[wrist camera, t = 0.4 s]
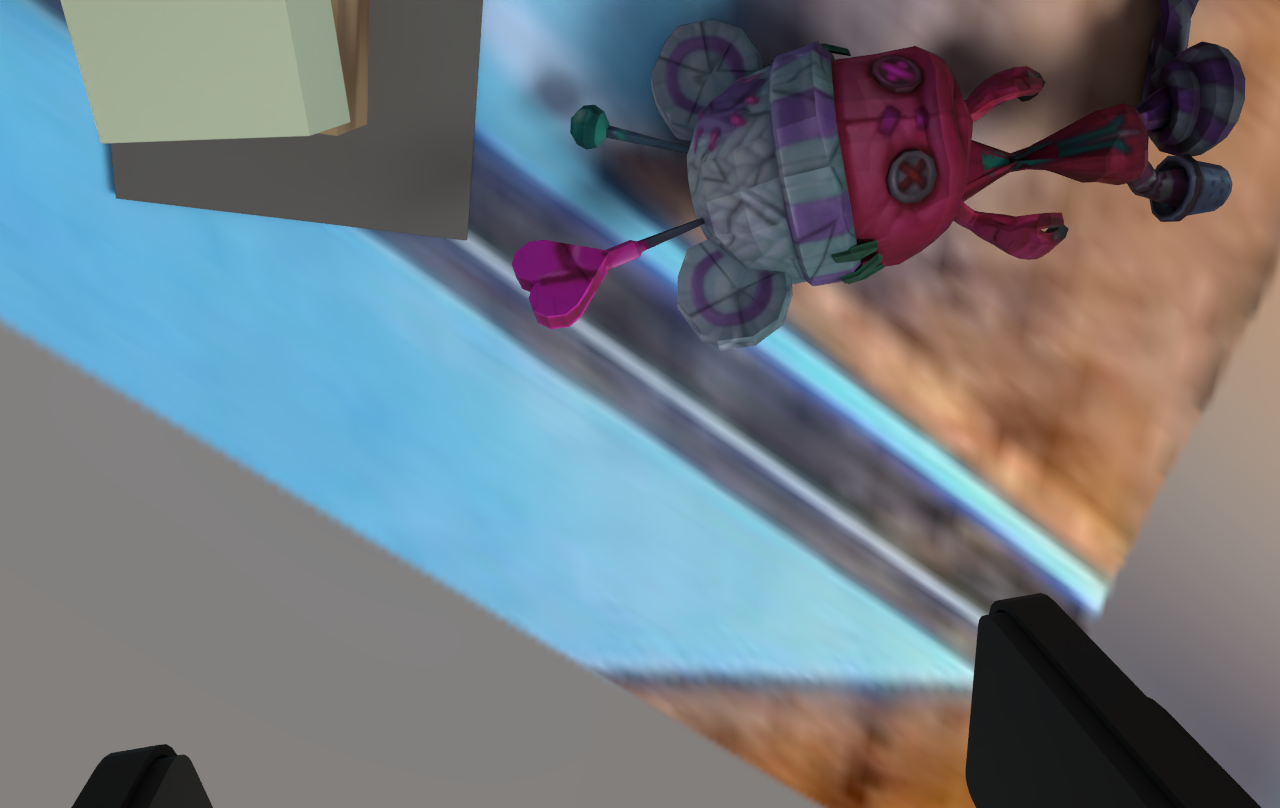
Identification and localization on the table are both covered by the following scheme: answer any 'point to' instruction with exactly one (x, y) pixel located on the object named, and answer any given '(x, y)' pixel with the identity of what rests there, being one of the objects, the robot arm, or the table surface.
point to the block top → (208, 68)
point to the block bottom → (353, 59)
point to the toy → (873, 166)
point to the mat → (348, 141)
